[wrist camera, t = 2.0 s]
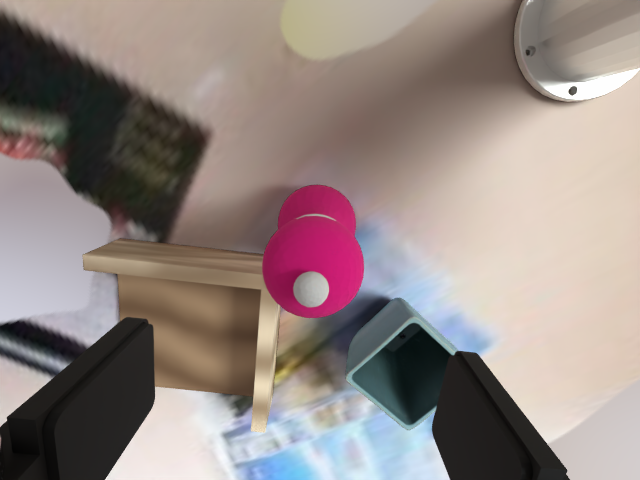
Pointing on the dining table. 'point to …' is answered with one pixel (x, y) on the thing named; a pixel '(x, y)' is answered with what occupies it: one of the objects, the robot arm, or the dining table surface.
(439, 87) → the dining table surface
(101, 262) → the corner fence
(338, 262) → the pepper mill
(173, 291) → the board
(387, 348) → the flower pot
